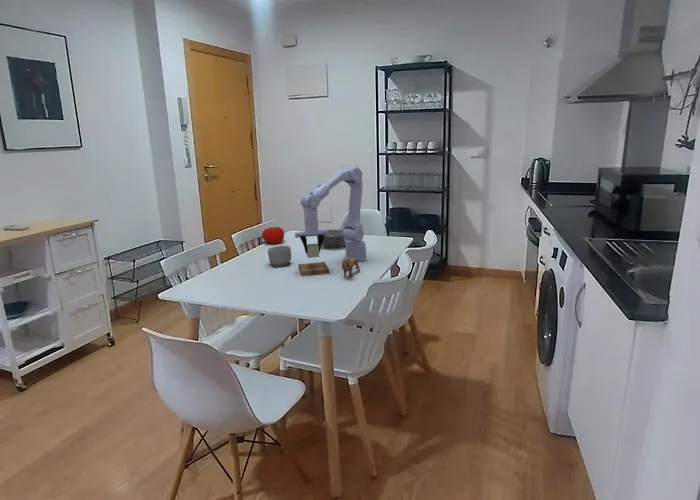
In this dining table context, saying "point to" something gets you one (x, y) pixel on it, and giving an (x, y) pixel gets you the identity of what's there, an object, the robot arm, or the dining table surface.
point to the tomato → (273, 235)
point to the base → (313, 268)
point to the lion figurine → (349, 266)
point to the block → (312, 250)
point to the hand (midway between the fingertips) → (312, 252)
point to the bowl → (333, 238)
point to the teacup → (279, 255)
